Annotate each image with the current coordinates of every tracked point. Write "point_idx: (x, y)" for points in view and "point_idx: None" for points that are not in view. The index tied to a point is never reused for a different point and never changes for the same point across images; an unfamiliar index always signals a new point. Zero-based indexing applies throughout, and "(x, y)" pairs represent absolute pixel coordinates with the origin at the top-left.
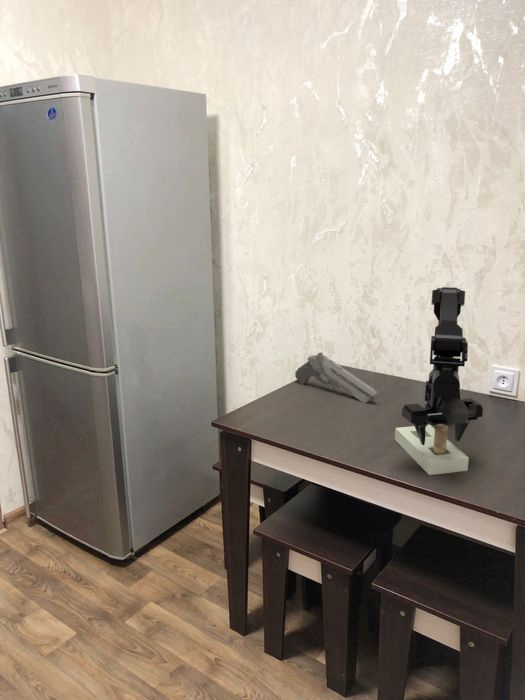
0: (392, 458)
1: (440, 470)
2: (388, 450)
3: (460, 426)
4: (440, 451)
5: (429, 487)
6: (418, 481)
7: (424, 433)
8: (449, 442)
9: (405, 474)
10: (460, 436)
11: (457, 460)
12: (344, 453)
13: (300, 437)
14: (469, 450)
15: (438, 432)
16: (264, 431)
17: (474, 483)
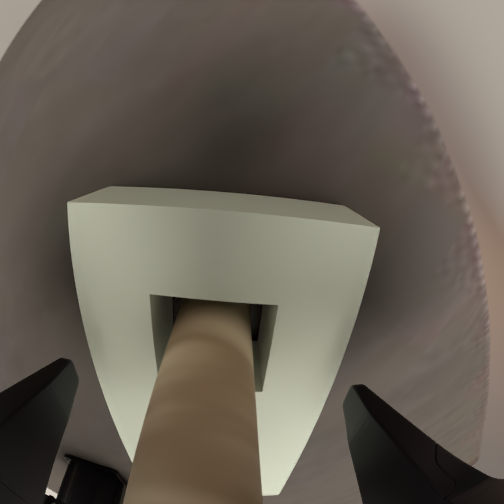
0: (376, 376)
1: (281, 201)
2: (344, 419)
3: (4, 449)
4: (226, 328)
5: (407, 104)
6: (421, 174)
7: (418, 458)
8: (109, 394)
9: (428, 252)
10: (35, 378)
11: (152, 202)
12: (452, 403)
13: (449, 450)
14: (43, 342)
15: (252, 479)
16: (465, 455)
17: (157, 53)
